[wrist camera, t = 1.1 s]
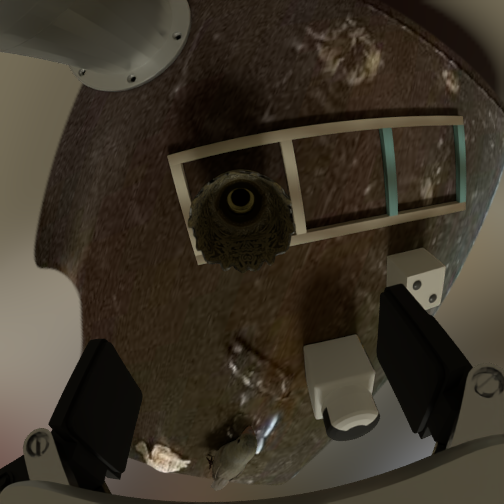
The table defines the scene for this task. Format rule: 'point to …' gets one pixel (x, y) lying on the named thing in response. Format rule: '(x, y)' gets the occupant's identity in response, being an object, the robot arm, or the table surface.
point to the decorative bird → (232, 458)
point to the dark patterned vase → (241, 221)
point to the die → (417, 275)
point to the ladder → (293, 181)
